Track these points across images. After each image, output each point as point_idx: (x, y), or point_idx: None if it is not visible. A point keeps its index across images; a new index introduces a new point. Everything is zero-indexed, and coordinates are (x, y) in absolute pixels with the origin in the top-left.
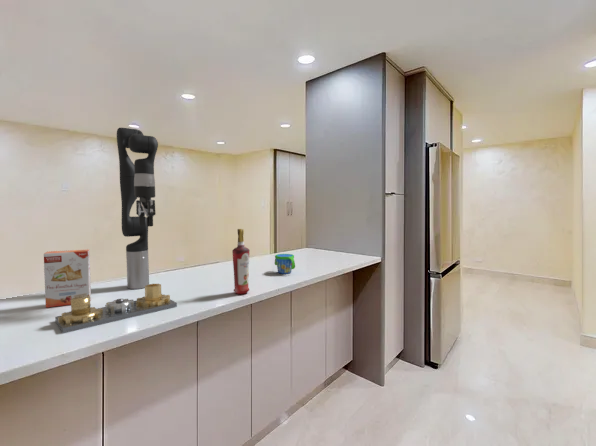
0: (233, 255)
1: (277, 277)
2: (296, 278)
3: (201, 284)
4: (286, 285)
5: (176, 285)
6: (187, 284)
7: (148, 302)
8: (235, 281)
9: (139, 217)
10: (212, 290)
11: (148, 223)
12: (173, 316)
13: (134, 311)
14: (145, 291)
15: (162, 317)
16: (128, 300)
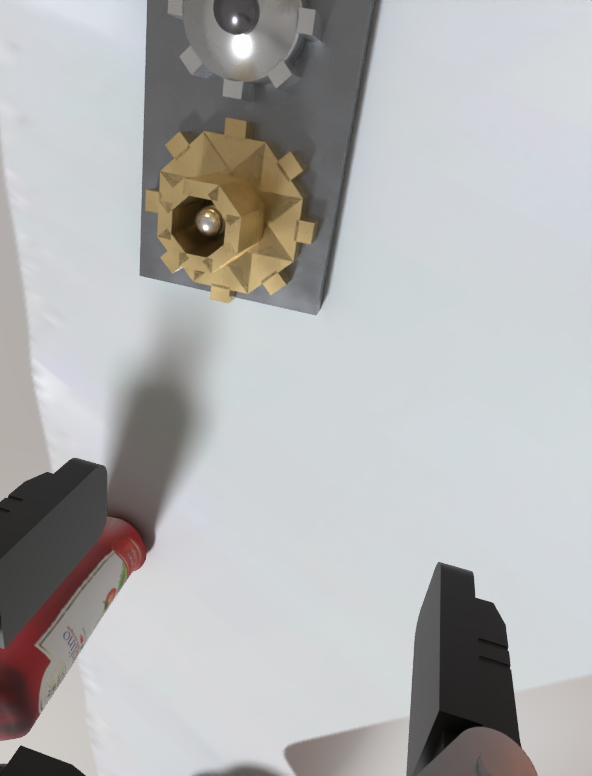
0: (8, 650)
1: (203, 754)
2: (135, 756)
3: (391, 576)
4: (85, 670)
5: (500, 516)
6: (460, 551)
7: (173, 154)
8: (90, 550)
9: (441, 690)
10: (250, 519)
11: (43, 490)
12: (38, 178)
13: (158, 58)
14: (222, 181)
15: (57, 139)
16: (238, 70)
